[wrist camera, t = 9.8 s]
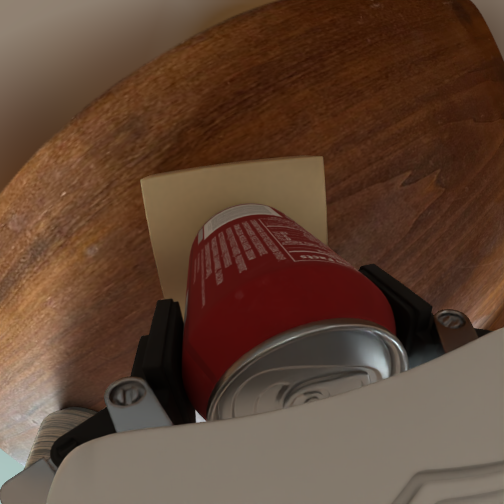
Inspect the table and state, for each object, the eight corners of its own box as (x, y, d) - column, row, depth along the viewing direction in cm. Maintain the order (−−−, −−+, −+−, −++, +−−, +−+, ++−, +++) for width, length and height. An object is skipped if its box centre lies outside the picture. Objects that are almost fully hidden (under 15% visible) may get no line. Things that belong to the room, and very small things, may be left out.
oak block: (150, 174, 20) (139, 179, 16) (302, 155, 21) (323, 156, 17) (178, 313, 24) (175, 341, 20) (310, 291, 25) (328, 314, 21)
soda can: (185, 204, 16) (153, 315, 5) (303, 199, 17) (454, 278, 6) (195, 312, 19) (201, 487, 7) (299, 302, 20) (391, 447, 8)
